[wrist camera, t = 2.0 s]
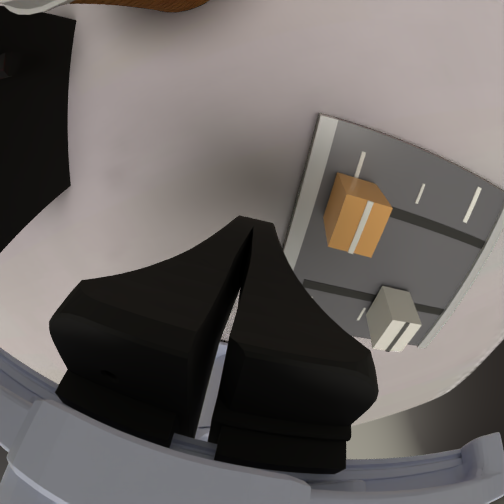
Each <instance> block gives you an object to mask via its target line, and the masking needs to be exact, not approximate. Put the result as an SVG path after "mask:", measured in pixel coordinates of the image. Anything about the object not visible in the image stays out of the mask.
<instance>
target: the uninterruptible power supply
mask: <svg viewBox="0 0 504 504" xmlns="http://www.w3.org/2000/svg"><path fill="white" fill-rule="evenodd" d="M75 25H76V20H72V19H69V18H65V17H61V16H56V15H52V14H47V13H43V12H41V13H35V14H30V15H18V14H16V13H13V12H11V11H9V10H8V9H7V8H6V7H5V6H0V253H1V252H2V250H3V249H4V248H5V247H6V246H7V245H8V244H9V243H10V242H11V241H12V240H13V239H14V237H15V236H16V235H17V234H18V233H19V232H20V231H21V230H22V229H23V228H24V227H25V226H26V225H27V224H28V223H29V222H30V221H31V220H32V219H33V218H34V217H35V216H37V215H38V214H39V213H40V212H41V211H42V210H43V209H44V208H45V207H46V206H47V205H48V204H50V203H51V202H52V201H53V200H54V199H55V198H56V197H57V196H59V195H60V194H61V193H62V192H63V191H64V190H66V189H67V188H68V187H69V186H70V185H71V184H70V173H69V158H68V129H67V115H68V86H69V72H70V62H71V53H72V45H73V38H74V31H75Z"/></svg>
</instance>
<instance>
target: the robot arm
mask: <svg viewBox="0 0 504 504" xmlns="http://www.w3.org/2000/svg"><path fill="white" fill-rule="evenodd" d="M240 287H241V288H240ZM239 290H240V295H239V302H238V309H237V313H236V316H235V320H234V323H233V326H232V330H231V333H230V336H229V341H228V343H225V342H221V341H220V340H221V337H222V334H223V331H224V329H225V326H226V323H227V321H228V318H229V316H230V313H231V311H232V308H233V305H234V303H235V300H236V298H237V295H238V293H239ZM49 330H50V334H51V337H52V340H53V342H54V344H55V346H56V348H57V350H58V352H59V354H60V356H61V358H62V360H63V361H64V363H65V365H66V367H67V369H68V370H67V372H66V373H65V375H64V377H63V379H62V380H61V382H60V384H57V383H55V382H53V381H51V380H50V379H48V378H46V377H44V376H43V375H41V374H39V373H38V372H36V371H34V370H33V369H31V368H30V367H28V366H27V365H25V364H23V363H22V362H20V361H19V360H17V359H16V358H14V357H13V356H11V355H10V354H9V353H7V352H6V351H4V350H3V349H1V348H0V445H1V446H2V447H3V448H4V449H5V450H6V451H7V452H8V455H7V460H8V462H9V464H8V466H7V468H6V471H5V473H4V476H3V478H2V480H1V483H0V504H489V503H491V502H492V501H495V500H496V499H498V498H500V497H502V496H504V451H503V446H502V441H501V437H500V433H498V432H497V433H493V434H489V435H485V436H481V437H478V438H476V439H474V440H472V441H470V442H469V443H467V444H466V445H464V446H463V447H462V448H461V449H457V450H452V451H446V452H440V453H434V454H427V455H419V456H411V457H400V458H387V459H359V460H357V459H356V460H353V459H352V460H350V459H348V460H346V441H349V440H350V438H351V424H352V423H353V422H354V421H356V420H357V419H358V418H359V417H360V416H361V415H362V414H364V413H365V412H366V411H367V410H368V409H369V408H370V407H371V406H372V405H373V403H374V402H375V401H376V399H377V396H378V392H379V391H378V384H377V376H376V370H375V366H374V362H373V359H372V355H371V351H370V350H369V349H367V348H366V347H365V346H364V345H362V344H361V343H360V342H358V341H357V340H356V339H355V338H353V337H352V336H351V335H349V334H348V333H347V332H346V331H344V330H343V329H342V328H341V327H340V326H339V325H338V324H337V323H336V322H335V321H334V320H333V319H331V318H330V317H329V316H328V315H327V314H326V313H325V312H324V311H323V310H322V308H321V307H320V306H319V305H318V304H317V303H316V302H315V300H314V299H313V298H312V297H311V296H310V295H309V293H308V292H307V291H306V290H305V288H304V287H303V285H302V284H301V282H300V281H299V280H298V278H297V276H296V275H295V273H294V271H293V270H292V268H291V266H290V264H289V262H288V260H287V258H286V256H285V254H284V252H283V249H282V247H281V245H280V242H279V239H278V236H277V233H276V230H275V226H274V224H273V223H270V222H265V221H261V220H257V219H252V218H248V217H243V216H238V217H236V218H235V219H234V220H232V221H231V222H230V223H229V224H227V225H226V226H225V227H224V228H222V229H221V230H220V231H218V232H217V233H215V234H214V235H213V236H211V237H210V238H208V239H207V240H205V241H203V242H202V243H200V244H198V245H197V246H195V247H193V248H192V249H190V250H188V251H186V252H184V253H182V254H180V255H177V256H175V257H173V258H170V259H168V260H165V261H162V262H159V263H157V264H154V265H151V266H148V267H145V268H142V269H138V270H135V271H131V272H127V273H122V274H118V275H113V276H107V277H101V278H95V279H89V280H82V281H81V282H80V283H79V284H78V285H77V286H76V287H75V288H74V289H73V290H72V292H71V293H70V294H69V295H68V297H67V298H66V299H65V300H64V302H63V303H62V304H61V305H60V307H59V308H58V309H57V311H56V312H55V313H54V315H53V316H52V318H51V319H50V321H49Z"/></svg>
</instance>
